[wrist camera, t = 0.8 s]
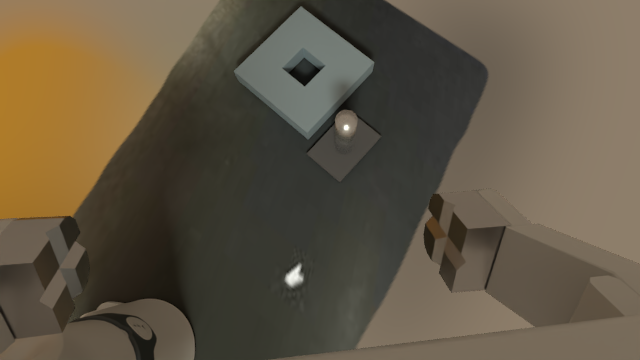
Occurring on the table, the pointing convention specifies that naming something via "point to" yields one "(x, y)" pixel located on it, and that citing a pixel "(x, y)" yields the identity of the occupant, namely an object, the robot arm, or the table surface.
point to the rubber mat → (339, 162)
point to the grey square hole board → (323, 90)
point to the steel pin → (345, 131)
